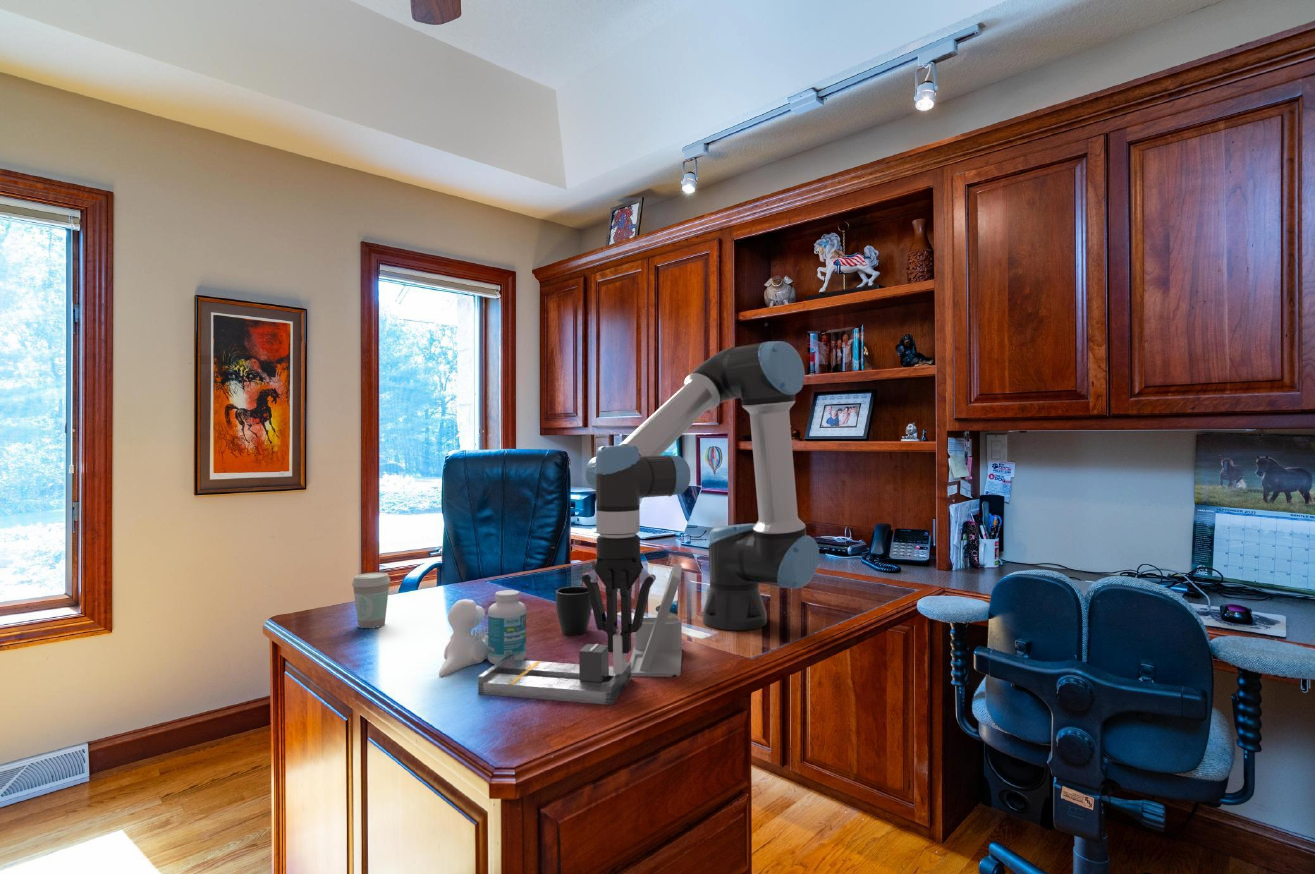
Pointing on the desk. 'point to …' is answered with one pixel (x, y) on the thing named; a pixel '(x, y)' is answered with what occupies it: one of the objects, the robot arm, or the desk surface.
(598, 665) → the block
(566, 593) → the mug
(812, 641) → the desk surface
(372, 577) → the coffee cup
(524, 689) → the console
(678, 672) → the phone holder
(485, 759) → the desk surface
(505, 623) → the pill bottle
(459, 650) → the figurine
